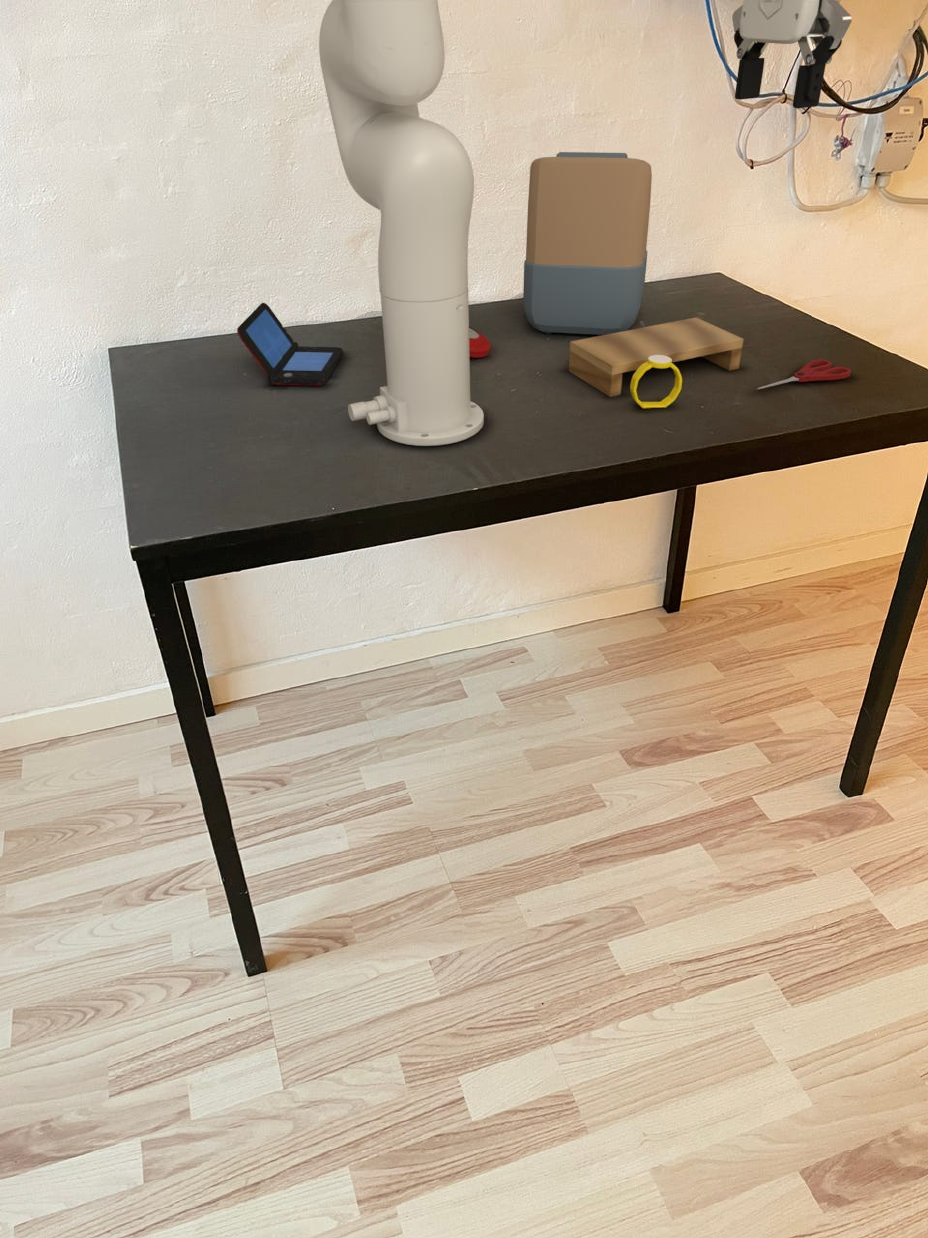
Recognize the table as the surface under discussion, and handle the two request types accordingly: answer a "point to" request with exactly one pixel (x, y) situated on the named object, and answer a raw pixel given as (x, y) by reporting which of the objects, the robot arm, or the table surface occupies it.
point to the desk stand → (650, 350)
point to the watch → (656, 362)
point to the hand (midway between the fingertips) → (774, 102)
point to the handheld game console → (285, 351)
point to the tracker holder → (478, 344)
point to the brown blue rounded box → (586, 242)
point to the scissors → (816, 373)
